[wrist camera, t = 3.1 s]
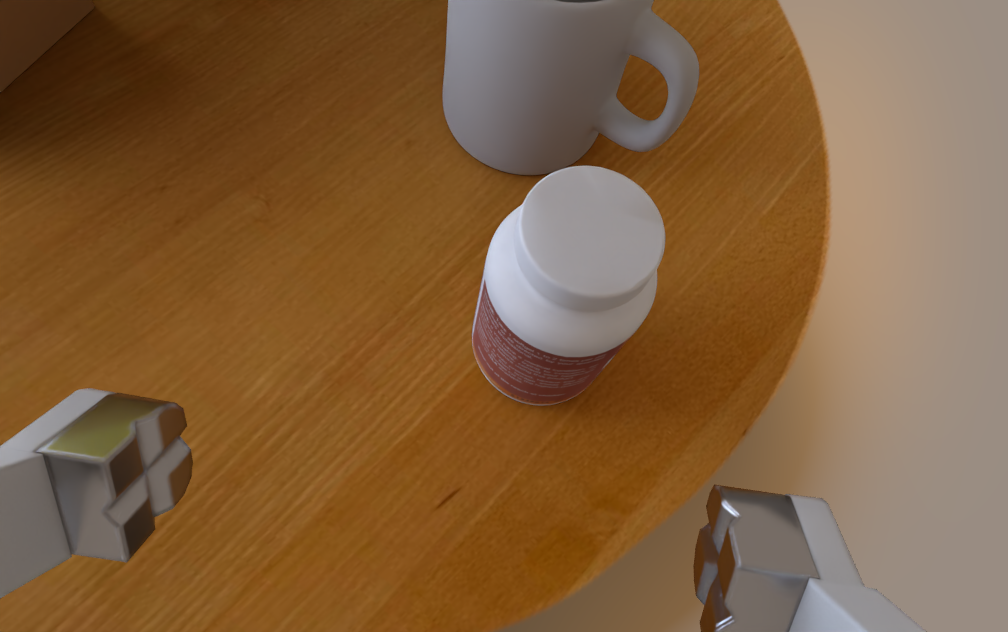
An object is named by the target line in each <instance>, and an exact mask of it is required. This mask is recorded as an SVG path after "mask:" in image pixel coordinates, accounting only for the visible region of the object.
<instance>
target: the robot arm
mask: <svg viewBox="0 0 1008 632" xmlns="http://www.w3.org/2000/svg"><path fill="white" fill-rule="evenodd" d="M186 427H187V423H186V418H185V414H184V409H183V408H182V407H181V406H179V405H178V404H177V403H174V402H169V401H163V400H157V399H151V398H146V397H140V396H134V395H129V394H123V393H114V392H109V391H103V390H97V389H91V388H87V389H81V390H77V391H75V392H74V393H73V394H71V395H70V396H68V397H67V398H66V399H64V400H63V401H62V402H60V403H59V404H57V405H56V406H55V407H53V408H52V409H51V410H49V411H48V412H47V413H45V414H44V415H42V416H41V417H40V418H38V419H37V420H36V421H34V422H33V423H31V424H30V425H29V426H27V427H26V428H25V429H23V430H22V431H20V432H19V433H18V434H16V435H15V436H14V437H12V438H11V439H9V440H8V441H7V442H5V443H4V444H3V445H1V446H0V598H2V597H3V596H5V595H7V594H8V593H10V592H12V591H14V590H15V589H17V588H19V587H21V586H22V585H24V584H26V583H28V582H29V581H31V580H33V579H35V578H36V577H38V576H40V575H41V574H43V573H45V572H47V571H48V570H50V569H52V568H54V567H55V566H57V565H59V564H61V563H62V562H64V561H66V560H67V559H69V558H71V557H72V556H71V554H74V555H81V556H88V557H95V558H102V559H109V560H116V561H123V562H127V561H128V560H129V559H130V558H131V557H132V556H133V555H134V553H135V552H136V551H137V550H138V549H139V548H140V546H141V545H142V544H143V543H144V542H145V541H146V539H147V538H148V537H149V536H150V535H151V534H152V532H153V531H154V530H155V518H154V517H156V516H158V515H160V514H163V513H165V512H167V511H169V510H171V509H173V508H174V507H175V505H176V504H177V503H178V502H179V500H180V499H181V498H182V497H183V496H184V494H185V491H186V489H187V486H188V484H189V482H190V479H191V476H192V466H193V460H192V453H191V449H190V448H189V447H188V445H187V444H186V443H185V442H184V441H183V439H182V438H181V437H180V435H181V434H182V432H183V431H184V430H185V428H186ZM706 508H707V514H708V519H709V523H708V524H707V525H706V526H704V527H703V528H701V529H700V531H699V535H698V539H697V544H696V548H695V558H694V584H695V592H696V596H697V598H698V599H699V600H700V601H701V602H702V603H703V604H704V610H703V613H702V616H701V620H700V627H701V632H927V631H926V630H924V629H923V628H922V627H921V626H919V625H918V624H917V623H916V622H915V621H913V620H912V619H911V618H910V617H909V616H907V614H905V613H904V612H903V611H902V610H901V609H899V608H898V607H897V606H896V605H894V604H893V603H892V602H891V601H890V600H889V599H887V598H886V597H885V596H884V595H882V593H880V592H879V591H878V590H877V589H873V588H866V587H865V586H864V584H863V582H862V580H861V577H860V575H859V573H858V570H857V568H856V566H855V564H854V561H853V559H852V557H851V555H850V552H849V550H848V548H847V545H846V543H845V541H844V539H843V536H842V534H841V532H840V530H839V527H838V525H837V523H836V521H835V518H834V517H833V514H832V511H831V509H830V507H829V505H828V503H827V502H826V501H824V500H823V499H822V498H815V497H807V496H799V495H791V494H785V495H782V494H775V493H768V492H761V491H755V490H748V489H741V488H734V487H728V486H721V485H714V486H713V488H712V490H711V492H710V495H709V498H708V502H707V505H706Z"/></svg>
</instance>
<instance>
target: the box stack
mask: <svg viewBox="0 0 1008 632" xmlns="http://www.w3.org/2000/svg"><path fill="white" fill-rule="evenodd" d="M94 8H95V5H94V4H93V2H92V0H0V93H1V92H2V91H3V90H4V89H5V88H6V87H7V86H8V85H10V84H11V83H12V82H13V81H14V80H15V79H16V78H17V77H18V76H20V75H21V74H22V73H23V72H24V71H25V70H26V69H27V68H28V67H29V66H31V65H32V64H33V63H34V62H35V61H36V60H37V59H38V58H39V57H41V56H42V55H43V54H44V53H45V52H46V51H47V50H48V49H49V48H50V47H52V46H53V45H54V44H55V43H56V42H57V41H58V40H59V39H60V38H62V37H63V36H64V35H65V34H66V33H67V32H68V31H69V30H70V29H71V28H73V27H74V26H75V25H76V24H77V23H78V22H79V21H80V20H81V19H83V18H84V17H85V16H86V15H87V14H88V13H89V12H90V11H91V10H92V9H94Z"/></svg>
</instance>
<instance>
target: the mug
mask: <svg viewBox="0 0 1008 632" xmlns="http://www.w3.org/2000/svg"><path fill="white" fill-rule="evenodd" d="M653 1H654V0H448V15H447V36H446V55H445V69H444V81H443V109H444V114H445V118H446V121H447V123H448V126H449V128H450V130H451V132H452V134H453V136H454V137H455V139H456V140H457V141H458V143H459V144H460V145H461V146H462V147H463V148H464V149H465V150H466V151H467V152H468V153H469V154H471V155H472V156H473V157H474V158H476V159H477V160H479V161H480V162H482V163H484V164H486V165H488V166H490V167H492V168H495V169H497V170H500V171H503V172H508V173H512V174H519V175H541V174H547V173H551V172H555V171H558V170H561V169H564V168H566V167H567V166H569V165H571V164H573V163H574V162H576V161H577V160H579V159H580V158H581V157H582V156H583V155H584V154H585V153H586V152H587V151H588V150H589V149H590V147H591V146H592V145H593V143H594V142H595V140H596V138H597V136H598V134H599V133H601V134H602V135H604V136H605V137H607V138H609V139H610V140H612V141H613V142H615V143H617V144H619V145H621V146H622V147H624V148H627V149H629V150H632V151H636V152H647V151H650V150H653V149H655V148H657V147H659V146H660V145H661V144H663V143H664V142H665V141H666V140H668V139H669V138H670V137H671V136H672V134H673V133H674V132H675V131H676V130H677V129H678V127H679V126H680V124H681V123H682V121H683V120H684V118H685V117H686V115H687V113H688V111H689V109H690V107H691V105H692V102H693V100H694V97H695V94H696V90H697V85H698V79H699V63H698V59H697V56H696V53H695V52H694V50H693V48H692V47H691V45H690V44H689V43H688V42H687V40H686V39H685V38H684V37H683V36H682V35H680V34H679V33H678V32H677V31H676V30H675V29H674V28H672V27H671V26H670V25H669V24H667V23H666V22H665V21H663V20H662V19H661V18H659V17H658V16H657V15H656V14H655V13H653V11H652V10H651V7H652V4H653ZM630 55H633V56H636V57H639V58H641V59H643V60H645V61H647V62H648V63H650V64H651V65H653V66H654V67H656V68H657V69H658V70H659V71H660V72H661V74H662V75H663V76H664V78H665V80H666V82H667V85H668V100H667V104H666V106H665V108H664V111H663V113H662V114H661V115H660V116H659V118H657V119H656V120H653V121H648V120H644V119H641V118H639V117H637V116H636V115H634V114H632V113H631V112H630V111H629V110H627V109H626V108H625V107H624V106H623V105H622V104H621V103H620V102H619V100H618V99H617V96H616V94H617V91H618V87H619V84H620V81H621V78H622V75H623V72H624V69H625V66H626V64H627V61H628V58H629V56H630Z"/></svg>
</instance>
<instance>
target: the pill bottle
mask: <svg viewBox="0 0 1008 632" xmlns="http://www.w3.org/2000/svg"><path fill="white" fill-rule="evenodd" d="M664 249H665V230H664V224H663V221H662V217H661V215H660V213H659V211H658V209H657V207H656V205H655V204H654V202H653V201H652V199H651V198H650V197H649V195H648V194H647V193H646V192H645V191H644V190H643V189H642V188H641V187H640V186H639V185H637V184H636V183H635V182H633V181H632V180H630V179H629V178H627V177H626V176H624V175H622V174H620V173H617V172H615V171H612V170H609V169H606V168H602V167H596V166H586V165H585V166H573V167H568V168H564V169H561V170H558V171H555V172H553V173H551V174H549V175H548V176H546V177H544V178H543V179H541V180H540V181H539V182H538V183H537V184H536V185H535V186H534V187H533V188H532V189H531V191H530V192H529V193H528V195H527V197H526V198H525V200H524V202H523V204H522V205H521V206H519V207H518V208H516V209H515V210H514V211H513V212H511V213H510V214H509V215H508V216H507V217H506V218H505V219H504V220H503V222H502V223H501V224H500V226H499V227H498V229H497V230H496V232H495V234H494V236H493V238H492V241H491V243H490V247H489V250H488V253H487V257H486V261H485V266H484V271H483V276H482V281H481V286H480V292H479V296H478V301H477V306H476V311H475V316H474V322H473V330H472V345H473V351H474V355H475V358H476V361H477V363H478V365H479V367H480V369H481V371H482V372H483V374H484V376H485V377H486V378H487V380H488V381H489V382H490V383H491V384H492V385H493V386H494V387H495V388H496V389H497V390H499V391H500V392H501V393H503V394H504V395H506V396H508V397H509V398H511V399H513V400H516V401H518V402H522V403H525V404H530V405H553V404H558V403H561V402H564V401H567V400H569V399H571V398H573V397H575V396H577V395H578V394H580V393H581V392H582V391H583V390H585V389H586V388H587V387H588V386H589V385H590V384H591V383H592V382H593V381H594V380H595V378H596V377H597V376H598V375H599V374H600V372H601V371H602V370H603V369H604V368H605V367H606V365H607V364H608V363H609V362H610V361H611V360H612V359H613V357H614V356H615V355H616V354H617V353H618V351H619V350H620V349H621V348H622V347H623V345H624V344H625V343H626V342H627V341H628V340H629V339H630V337H631V336H632V335H633V334H634V333H635V332H636V330H637V329H638V328H639V327H640V325H641V324H642V323H643V321H644V320H645V318H646V316H647V315H648V313H649V311H650V309H651V307H652V304H653V302H654V298H655V294H656V288H657V268H658V266H659V264H660V262H661V260H662V257H663V253H664Z"/></svg>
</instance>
